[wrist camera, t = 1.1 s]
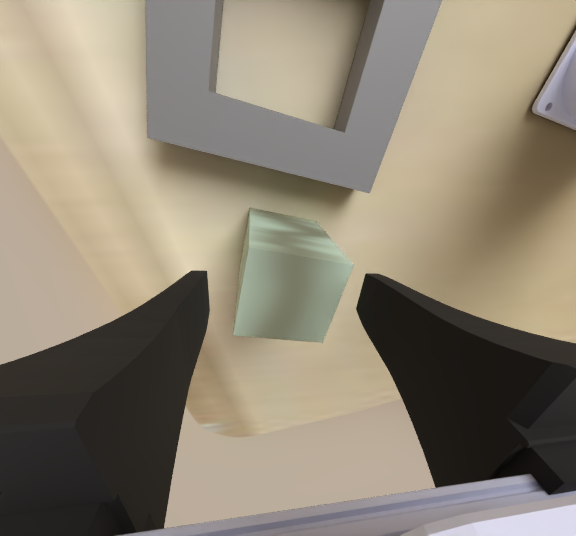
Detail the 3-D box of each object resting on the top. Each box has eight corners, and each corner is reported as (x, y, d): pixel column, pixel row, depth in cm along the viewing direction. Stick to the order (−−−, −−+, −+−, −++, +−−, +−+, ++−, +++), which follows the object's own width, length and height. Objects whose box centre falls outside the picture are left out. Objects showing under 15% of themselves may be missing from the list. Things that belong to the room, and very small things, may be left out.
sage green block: (316, 221, 19) (353, 264, 12) (299, 278, 22) (322, 342, 15) (249, 207, 18) (249, 247, 11) (239, 270, 21) (233, 335, 13)
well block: (448, -79, 13) (489, -127, 10) (355, 187, 19) (369, 193, 16) (166, -247, 10) (140, -364, 7) (162, 138, 15) (147, 137, 13)
